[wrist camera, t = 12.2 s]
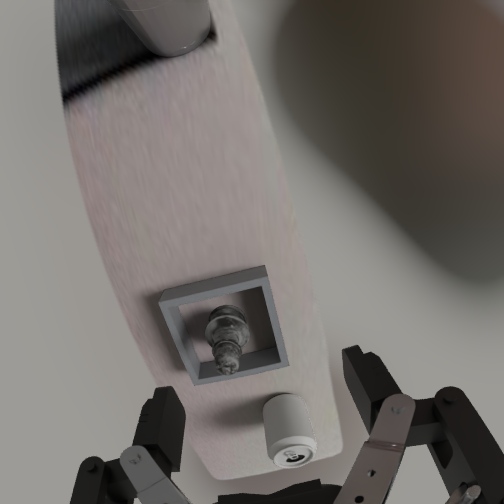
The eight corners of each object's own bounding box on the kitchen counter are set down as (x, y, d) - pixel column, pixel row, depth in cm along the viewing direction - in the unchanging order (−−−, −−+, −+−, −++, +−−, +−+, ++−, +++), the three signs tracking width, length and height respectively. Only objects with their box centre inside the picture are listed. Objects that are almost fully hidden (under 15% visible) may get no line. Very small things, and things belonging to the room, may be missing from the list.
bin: (164, 289, 41) (158, 302, 37) (264, 265, 41) (267, 276, 37) (196, 369, 45) (194, 385, 41) (285, 350, 45) (289, 365, 41)
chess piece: (226, 346, 44) (225, 401, 33) (198, 320, 43) (188, 372, 31) (257, 322, 43) (264, 375, 32) (228, 295, 42) (227, 343, 30)
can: (270, 424, 50) (277, 476, 38) (255, 398, 48) (261, 453, 36) (309, 411, 49) (324, 462, 38) (298, 384, 47) (313, 438, 36)
